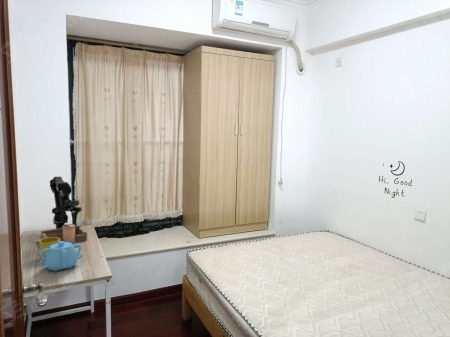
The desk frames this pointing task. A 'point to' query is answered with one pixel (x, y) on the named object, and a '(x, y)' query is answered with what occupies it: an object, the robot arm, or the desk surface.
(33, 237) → the desk surface
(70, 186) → the robot arm
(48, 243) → the plant pot
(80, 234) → the frame
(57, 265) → the decorative pot
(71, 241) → the terracotta pot
